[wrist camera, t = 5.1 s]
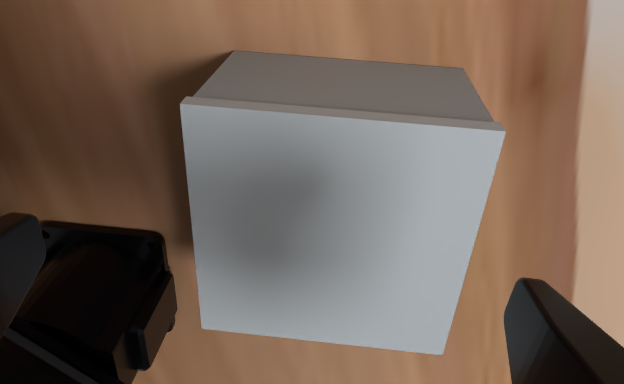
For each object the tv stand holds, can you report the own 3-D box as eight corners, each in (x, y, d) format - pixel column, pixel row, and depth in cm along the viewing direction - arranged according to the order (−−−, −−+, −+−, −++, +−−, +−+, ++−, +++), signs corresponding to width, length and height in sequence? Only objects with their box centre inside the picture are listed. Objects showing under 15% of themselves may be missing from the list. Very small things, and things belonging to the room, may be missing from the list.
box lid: (206, 316, 19) (201, 328, 19) (186, 96, 15) (179, 103, 14) (440, 342, 19) (442, 355, 18) (501, 122, 14) (506, 131, 13)
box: (239, 234, 24) (208, 315, 19) (234, 50, 19) (191, 97, 15) (423, 253, 24) (438, 340, 19) (463, 68, 19) (495, 123, 14)
